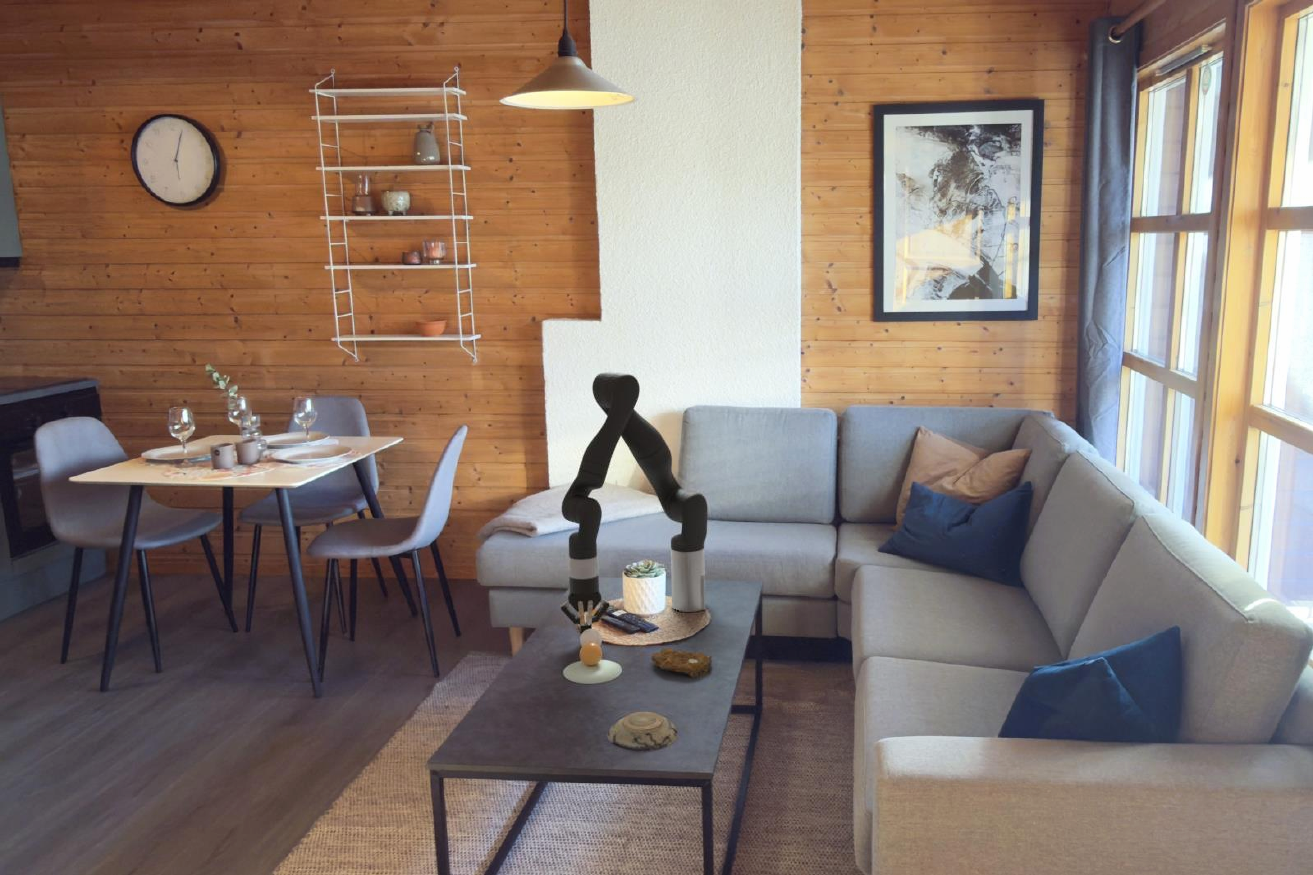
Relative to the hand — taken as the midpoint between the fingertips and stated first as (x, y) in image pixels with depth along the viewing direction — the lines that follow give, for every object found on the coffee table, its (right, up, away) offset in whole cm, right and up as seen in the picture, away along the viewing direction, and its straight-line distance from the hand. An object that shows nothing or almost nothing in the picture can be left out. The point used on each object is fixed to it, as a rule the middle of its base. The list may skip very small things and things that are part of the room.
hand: (586, 637), depth 269 cm
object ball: (+2, -1, -14) cm, 14 cm away
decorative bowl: (+15, -11, -49) cm, 53 cm away
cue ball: (+2, 0, -5) cm, 5 cm away
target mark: (+3, -5, -17) cm, 18 cm away
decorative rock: (+24, -5, -16) cm, 29 cm away
